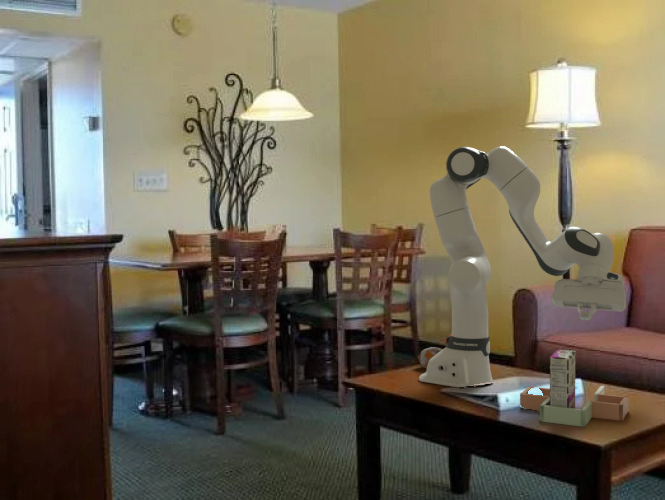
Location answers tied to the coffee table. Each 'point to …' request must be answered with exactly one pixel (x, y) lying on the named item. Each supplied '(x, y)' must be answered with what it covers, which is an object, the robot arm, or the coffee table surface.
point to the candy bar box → (562, 379)
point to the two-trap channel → (598, 408)
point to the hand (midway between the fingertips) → (584, 318)
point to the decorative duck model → (428, 355)
